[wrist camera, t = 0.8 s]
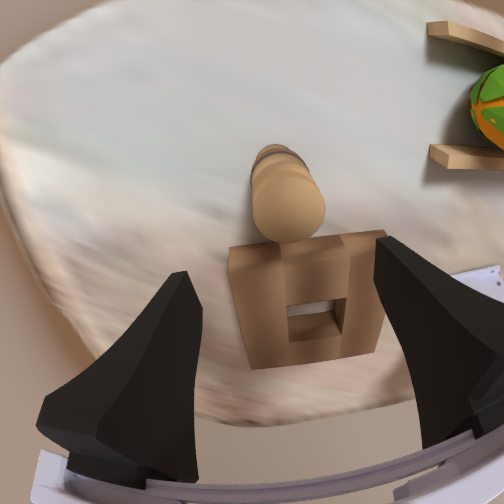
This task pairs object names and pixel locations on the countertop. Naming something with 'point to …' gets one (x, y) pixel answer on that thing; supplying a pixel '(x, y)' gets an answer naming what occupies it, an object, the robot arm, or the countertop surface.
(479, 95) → the green orange papaya
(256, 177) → the peg
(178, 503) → the robot arm
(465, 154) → the chock rails
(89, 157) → the countertop surface
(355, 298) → the walnut block
